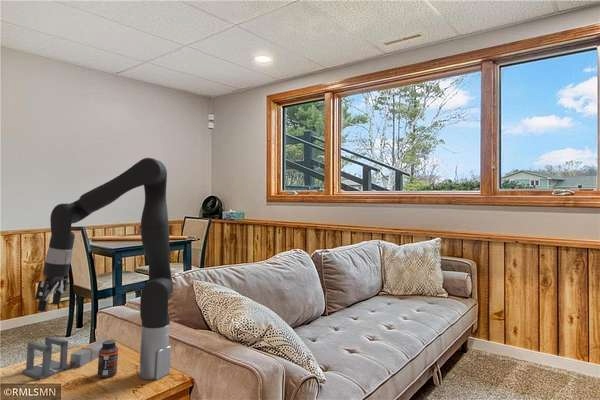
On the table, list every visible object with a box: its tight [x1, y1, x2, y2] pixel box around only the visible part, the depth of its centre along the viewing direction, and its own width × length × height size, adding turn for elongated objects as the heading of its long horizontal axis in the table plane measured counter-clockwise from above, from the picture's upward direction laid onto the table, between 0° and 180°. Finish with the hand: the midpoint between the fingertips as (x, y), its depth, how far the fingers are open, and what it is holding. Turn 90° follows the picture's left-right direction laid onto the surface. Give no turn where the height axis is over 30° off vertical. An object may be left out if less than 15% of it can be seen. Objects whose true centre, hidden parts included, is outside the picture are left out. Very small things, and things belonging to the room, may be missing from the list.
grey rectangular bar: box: [69, 337, 113, 368], centre depth 143 cm, size 4×17×5 cm, turn 171°
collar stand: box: [21, 335, 71, 381], centre depth 131 cm, size 10×10×10 cm
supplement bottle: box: [97, 339, 119, 379], centre depth 130 cm, size 6×6×11 cm
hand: (48, 307), depth 130 cm, fingers open, 8 cm apart
